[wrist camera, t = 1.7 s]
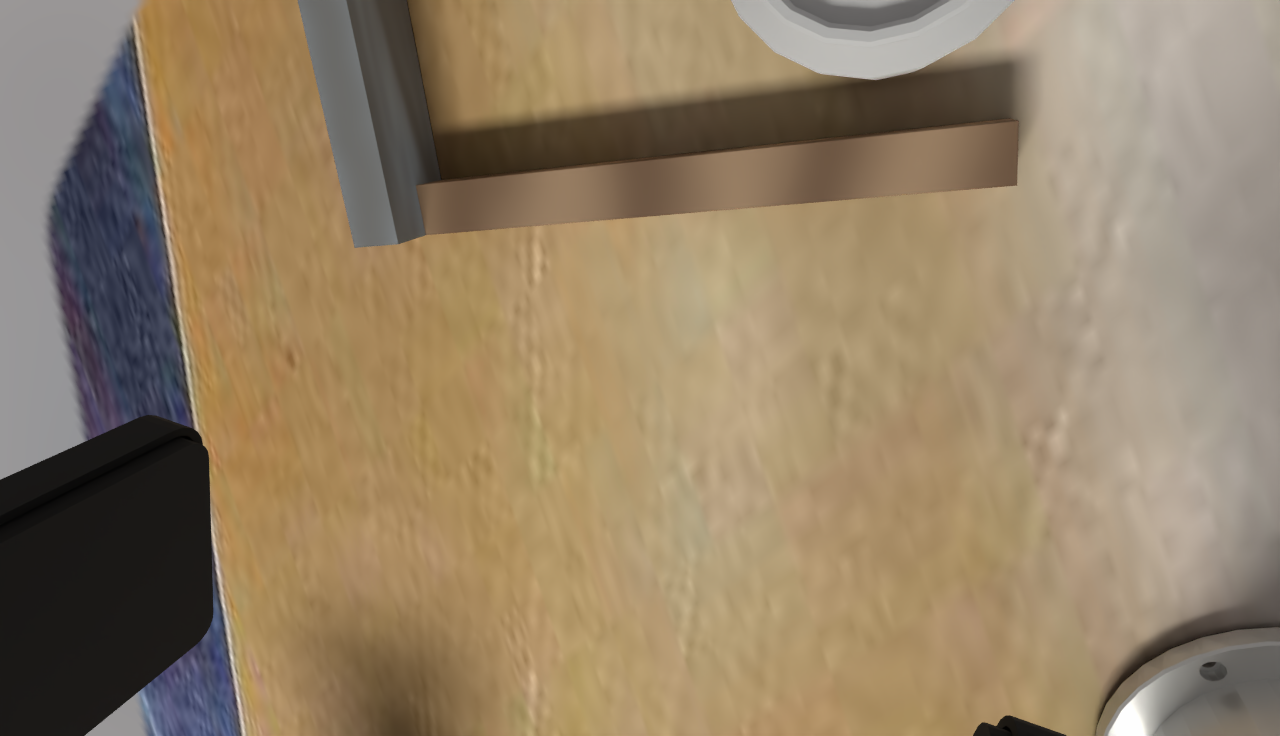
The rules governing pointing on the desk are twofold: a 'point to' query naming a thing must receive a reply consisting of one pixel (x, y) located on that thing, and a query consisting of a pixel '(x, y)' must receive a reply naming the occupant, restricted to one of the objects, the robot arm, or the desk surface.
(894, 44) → the can
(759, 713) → the desk surface
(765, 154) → the channel
